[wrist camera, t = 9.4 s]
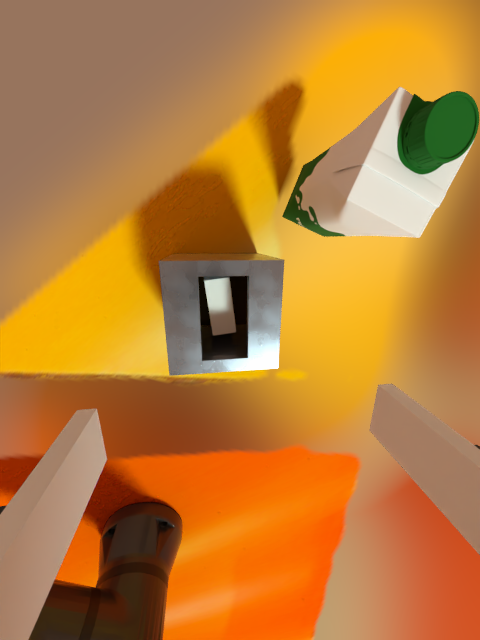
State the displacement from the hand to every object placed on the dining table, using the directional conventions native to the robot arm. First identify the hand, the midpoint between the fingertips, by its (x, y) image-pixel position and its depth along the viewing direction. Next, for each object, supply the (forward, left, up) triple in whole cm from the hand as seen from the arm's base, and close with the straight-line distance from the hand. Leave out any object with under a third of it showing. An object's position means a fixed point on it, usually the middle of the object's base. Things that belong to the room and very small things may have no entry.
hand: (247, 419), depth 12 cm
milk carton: (+13, -14, -28) cm, 34 cm away
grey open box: (0, 0, -28) cm, 28 cm away
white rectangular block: (0, 0, -28) cm, 28 cm away
